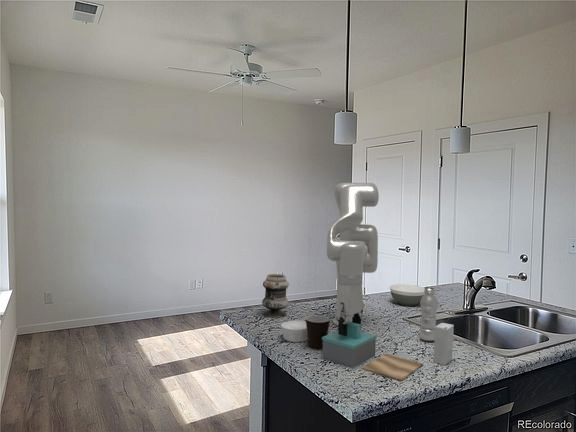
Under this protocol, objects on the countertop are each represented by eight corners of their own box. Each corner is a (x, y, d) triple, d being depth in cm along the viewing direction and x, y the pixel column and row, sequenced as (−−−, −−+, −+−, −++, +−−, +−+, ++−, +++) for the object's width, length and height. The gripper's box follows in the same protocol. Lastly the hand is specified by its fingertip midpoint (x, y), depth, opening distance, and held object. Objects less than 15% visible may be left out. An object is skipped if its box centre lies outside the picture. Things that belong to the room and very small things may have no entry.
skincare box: (439, 357, 141) (440, 321, 140) (453, 360, 138) (454, 324, 137) (432, 362, 136) (433, 325, 136) (446, 366, 133) (447, 328, 133)
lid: (345, 332, 149) (345, 315, 149) (376, 340, 141) (377, 322, 140) (321, 342, 138) (322, 323, 138) (354, 351, 130) (354, 332, 130)
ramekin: (276, 340, 154) (276, 326, 154) (287, 332, 165) (287, 319, 164) (304, 345, 150) (305, 330, 150) (314, 336, 160) (314, 322, 160)
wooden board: (386, 355, 142) (386, 353, 142) (423, 365, 133) (423, 363, 133) (362, 369, 129) (362, 367, 129) (400, 381, 121) (401, 379, 121)
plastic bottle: (436, 338, 160) (438, 287, 159) (437, 344, 153) (438, 290, 153) (419, 336, 162) (420, 285, 161) (418, 342, 155) (420, 289, 155)
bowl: (432, 308, 204) (432, 292, 204) (393, 308, 204) (394, 291, 204) (420, 299, 223) (420, 284, 222) (385, 299, 223) (385, 283, 223)
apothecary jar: (279, 320, 180) (280, 279, 180) (256, 315, 186) (257, 276, 186) (293, 313, 191) (293, 274, 190) (271, 309, 197) (271, 272, 196)
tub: (345, 346, 149) (345, 330, 148) (375, 355, 141) (375, 338, 141) (322, 357, 138) (322, 340, 138) (353, 367, 130) (353, 349, 130)
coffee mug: (322, 352, 143) (322, 323, 143) (300, 347, 147) (301, 319, 147) (336, 342, 153) (337, 316, 152) (316, 338, 157) (316, 312, 157)
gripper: (355, 275, 148) (353, 324, 148) (326, 282, 134) (325, 335, 135) (373, 278, 143) (372, 328, 143) (346, 285, 129) (345, 341, 130)
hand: (349, 331), depth 139 cm, fingers open, 7 cm apart
